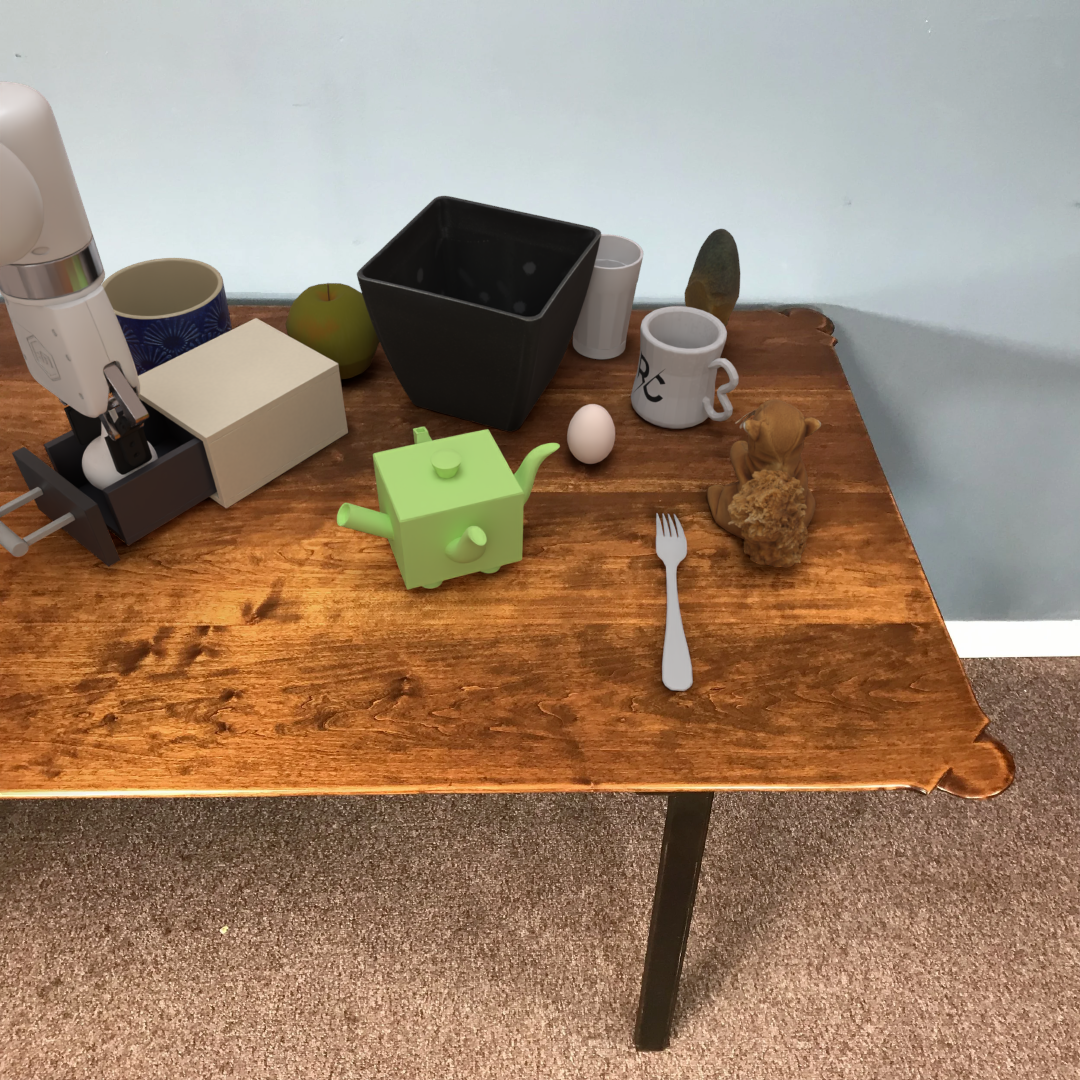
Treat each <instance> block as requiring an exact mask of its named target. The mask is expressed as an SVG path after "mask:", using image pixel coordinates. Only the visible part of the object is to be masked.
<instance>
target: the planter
mask: <svg viewBox="0 0 1080 1080" xmlns="http://www.w3.org/2000/svg"><path fill="white" fill-rule="evenodd" d="M224 284H225V283H224V279H223V276H222V274H221V272H219V270H217V268H215V267H214V266H212V265H210V264H208V263H206V262H203V261H200V260H196V259H191V258H187V257H186V258H185V257H161V258H154V259H149V260H143V261H139V262H136V263H133V264H131V265H128V266H126V267H125V266H124V267H122V268H120V269H119V270H117V271H115V272H114V273H112V274H110V276H108V277H106V279H104V281H103V283H102V284H101V285H102V286H103V288H104V290H105V292H106V294H107V296H108V299H109V301H110V303H111V305H112V308H113V310H114V312H115V315H116V317H117V319H118V322H119V324H120V327H121V329H122V332H123V334H124V337H125V339H126V342H127V345H128V347H129V350H130V353H131V356H132V359H133V361H134V365H135V368H136V371H137V375H138V376H139V375H141V374H143V373H145V372H147V371H149V370H151V369H153V368H155V367H157V366H160V365H162V364H164V363H166V362H168V361H170V360H172V359H174V358H176V357H178V356H180V355H182V354H184V353H186V352H188V351H190V350H192V349H194V348H196V347H198V346H200V345H202V344H204V343H206V342H208V341H210V340H212V339H214V338H216V337H218V336H220V335H223V334H225V333H227V332H229V331H231V330H233V327H232V319H231V314H230V309H229V305H228V304H229V303H228V300H227V294H226V289H225V285H224Z"/></svg>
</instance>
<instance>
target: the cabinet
mask: <svg viewBox="0 0 1080 1080" xmlns="http://www.w3.org/2000/svg"><path fill="white" fill-rule="evenodd" d="M138 378H139V382H140V394H139V396H138V398H139V399H141V400H142V401H144V402H145V403H147V404H148V405H150V406H151V407H153V408H154V409H156V410H157V411H159V412H160V413H162V414H163V415H165V416H166V417H168V418H169V419H171V420H172V421H173V422H175V423H176V424H178V425H179V426H181V427H182V428H184V429H185V430H187V431H188V432H190V433H191V434H193V435H194V436H196V437H197V438H199V439H200V440H202V441H203V444H204V447H205V450H206V454H207V457H208V461H209V464H210V468H211V471H212V475H213V478H214V482H215V485H216V489H217V492H216V493H215V494H213V495H211V496H210V497H209V498H210V499H212V500H213V501H215V502H216V503H217V504H219V505H220V506H222V507H223V508H225V509H228V508H230V507H231V506H233V505H234V504H236V503H238V502H240V501H241V500H242V499H244V498H246V497H248V496H249V495H250V494H252V493H254V492H255V491H257V490H259V489H260V488H262V487H263V486H265V485H267V484H268V483H270V482H271V481H273V480H274V479H276V478H278V477H279V476H281V475H282V474H284V473H286V472H287V471H289V470H290V469H292V468H294V467H296V466H297V465H299V464H301V463H302V462H304V461H305V460H307V459H308V458H310V457H311V456H313V455H315V454H316V453H318V452H320V451H321V450H323V449H324V448H326V447H328V446H329V445H331V444H333V443H334V442H335V441H337V440H339V439H340V438H342V437H344V436H346V435H347V434H348V433H349V429H348V422H347V416H346V414H347V413H346V407H345V402H344V395H343V394H344V393H343V387H342V379H340V373H339V365H338V363H336V362H334V361H333V360H331V359H329V358H327V357H325V356H324V355H322V354H320V353H318V352H316V351H315V350H313V349H311V348H309V347H307V346H306V345H304V344H302V343H300V342H298V341H297V340H295V339H293V338H291V337H289V336H288V334H286V333H284V332H282V331H280V330H279V329H277V328H275V327H274V326H271V325H269V324H268V323H266V322H264V321H262V320H260V319H259V318H256V317H255V318H253V319H250V320H249V321H247V322H245V323H243V324H240V325H239V326H237V327H234V328H232V330H231V331H229V332H227V333H225V334H223V335H220V336H218V337H216V338H214V339H212V340H210V341H208V342H206V343H204V344H202V345H200V346H198V347H196V348H194V349H192V350H190V351H188V352H186V353H184V354H182V355H180V356H178V357H176V358H174V359H172V360H170V361H168V362H166V363H164V364H162V365H160V366H157V367H155V368H153V369H151V370H149V371H147V372H145V373H143V374H141V375H139V376H138Z"/></svg>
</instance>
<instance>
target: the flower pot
mask: <svg viewBox="0 0 1080 1080" xmlns="http://www.w3.org/2000/svg"><path fill="white" fill-rule="evenodd" d="M601 234H602V231H601V230H600V229H598V228H596V227H594V226H588V225H584V224H580V223H576V222H570V221H565V220H561V219H558V218H553V217H547V216H542V215H538V214H533V213H529V212H524V211H519V210H515V209H511V208H506V207H501V206H498V205H497V206H496V205H492V204H488V203H484V202H477V201H473V200H469V199H464V198H459V197H456V196H450V195H439V196H436V197H434V198H433V199H432V200H431V201H430V202H429V203H427V205H426V206H424V207H423V208H422V209H421V211H420V212H418V213H417V214H416V215H415V216H414V217H413V218H412V219H411V220H410V221H409V222H407V224H406V225H404V226H403V228H402V229H401V230H400V231H398V232H397V233H396V234H395V235H394V236H393V237H392V238H391V239H390V240H389V241H388V242H387V243H386V244H385V245H384V246H383V247H382V248H380V250H378V252H377V253H375V254H374V255H373V256H372V257H371V258H370V259H369V260H368V261H367V262H366V263H364V264H363V265H362V267H361V268H359V270H358V271H357V272H356V278H357V281H358V284H359V288H360V292H361V293H362V295H363V298H364V301H365V304H366V308H367V310H368V313H369V316H370V319H371V322H372V324H373V327H374V330H375V332H376V335H377V337H378V339H379V345H380V346H381V349H382V350H383V353H384V355H385V358H386V359H387V361H388V363H389V365H390V367H391V369H392V371H393V373H394V374H395V376H396V379H397V380H398V382H399V384H400V386H401V387H402V389H403V391H404V392H405V394H406V396H407V397H408V399H409V401H410V402H411V404H412V405H414V406H415V407H419V408H421V409H422V408H423V409H426V410H429V411H433V412H437V413H441V414H444V415H448V416H451V417H454V418H457V419H462V420H465V421H469V422H472V423H476V424H480V425H483V426H487V427H489V428H490V427H491V428H494V429H497V430H501V431H506V432H509V433H510V432H516V431H518V430H519V429H520V428H521V427H522V425H523V424H524V423H525V420H526V419H527V418H528V417H529V415H530V413H531V411H532V410H533V408H534V407H535V405H536V404H537V403H538V401H539V399H540V398H541V397H542V395H543V394H544V392H545V390H546V389H547V387H548V386H549V384H550V382H551V381H552V380H553V379H554V377H555V376H556V374H557V372H558V370H559V368H560V365H561V364H562V361H563V359H564V356H565V354H566V352H567V349H568V347H569V344H570V341H571V339H572V338H573V333H574V329H575V326H576V324H577V321H578V318H579V315H580V312H581V309H582V306H583V303H584V300H585V297H586V293H587V290H588V287H589V283H590V280H591V276H592V272H593V268H594V264H595V260H596V256H597V253H598V248H599V244H600V239H601Z"/></svg>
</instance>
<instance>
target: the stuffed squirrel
mask: <svg viewBox="0 0 1080 1080" xmlns="http://www.w3.org/2000/svg"><path fill="white" fill-rule="evenodd" d="M752 416H753V417H752ZM751 417H752V419H751ZM739 423H740V425H739V427H738V428H739V429H742V428H743V430H744V431H745V432H746V433H747V441H746V440H737V441H735V442H734V443H733V444H732V445H731V448H730V450H729V460H730V463H731V466H732V467H733V471H734V474H735V475H734V476H735V477H736V478H737V481H734V482H730V483H728V484H725V485H722V484H714V485H710V486H709V487H708V488H707V491H706V492H707V493H706V494H707V495H706V496H707V502H708V505H709V508H710V512H711V515H712V517H713V520H714V521H715V523H716V524H717V525H718V526H719V527H721V528H722V529H724V530H725V531H727V532H728V533H730V534H731V535H733V536H735V537H737V538H740V539H742V540H743V541H742V543H743V553H744V554H746V555H749V560H750V561H752V562H753V563H756V564H757V565H760V566H763V565H764V566H765V565H767V566H769V567H774V568H780V567H781V568H790V567H794V565H795V564H801V559H802V554H803V553H804V552H805V549H806V548H807V540H808V538H809V536H808V534H809V531H808V526H809V525H810V523H811V522H812V519H813V517H814V514H815V511H816V505H817V504H816V500H815V497H814V495H813V493H812V491H811V490H810V488H809V477H808V472H807V470H806V467H805V463H804V460H803V458H802V453H803V451H804V448H805V439H806V438H808V437H809V436H812V435H813V434H814V433H816V432H817V431H818V430H819V429H820V428H821V426H822V422H821V421H820V420H819V419H817V418H815V417H805V415H804V413H803V412H802V411H801V410H800V409H799V408H798V407H796V406H794V405H793V404H791V403H788V402H786V401H784V400H781V399H768V400H766V401H764V402H763V403H760V405H759V406H758V407H757V408H755V409H753V410H751V411H749V412H748V413H746V414H744V415H742V417H741V418H739V419H738V420H737V421H735V422H734V424H735V425H737V424H739Z"/></svg>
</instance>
